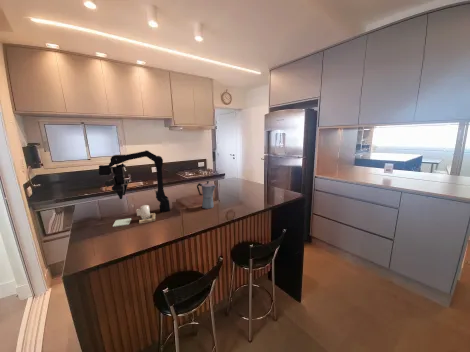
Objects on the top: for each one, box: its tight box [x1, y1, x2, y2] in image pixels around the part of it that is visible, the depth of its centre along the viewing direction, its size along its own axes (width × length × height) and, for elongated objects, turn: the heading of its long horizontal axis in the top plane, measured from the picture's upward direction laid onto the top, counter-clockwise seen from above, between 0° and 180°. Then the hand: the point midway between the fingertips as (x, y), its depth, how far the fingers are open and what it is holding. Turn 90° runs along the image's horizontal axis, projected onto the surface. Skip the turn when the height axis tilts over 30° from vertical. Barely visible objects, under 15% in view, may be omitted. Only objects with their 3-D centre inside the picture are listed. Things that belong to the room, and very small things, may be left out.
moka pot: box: [196, 180, 217, 210], centre depth 149 cm, size 10×15×20 cm, turn 78°
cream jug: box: [135, 204, 152, 220], centre depth 131 cm, size 8×5×9 cm
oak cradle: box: [138, 212, 156, 224], centre depth 132 cm, size 9×11×2 cm
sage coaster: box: [112, 218, 132, 228], centre depth 127 cm, size 9×9×1 cm
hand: (122, 197), depth 134 cm, fingers open, 9 cm apart
